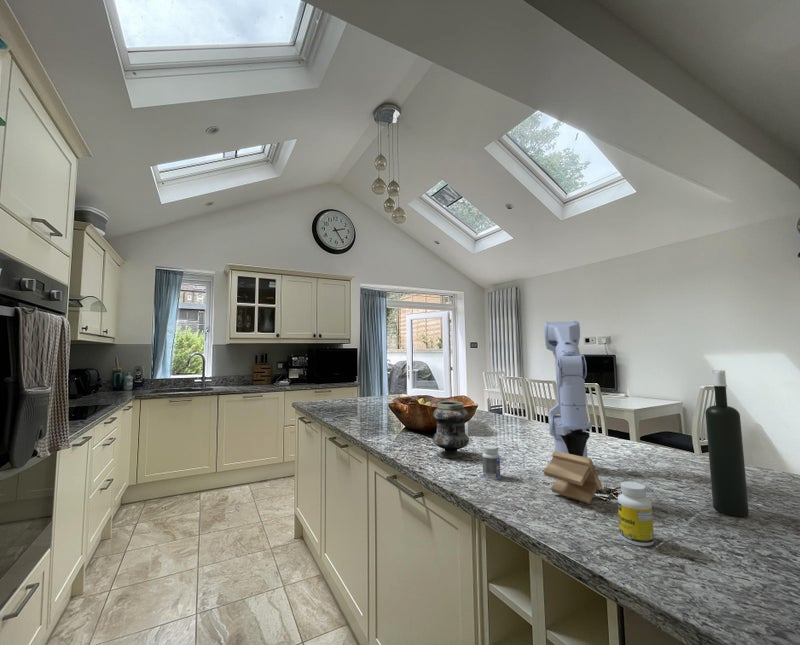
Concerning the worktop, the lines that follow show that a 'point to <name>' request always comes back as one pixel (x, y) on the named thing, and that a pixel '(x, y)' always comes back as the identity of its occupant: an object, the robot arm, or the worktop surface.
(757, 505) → the worktop surface
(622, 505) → the supplement bottle
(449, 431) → the dark grey vase
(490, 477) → the pill bottle
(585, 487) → the tan notched block
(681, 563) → the worktop surface
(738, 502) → the wine bottle
